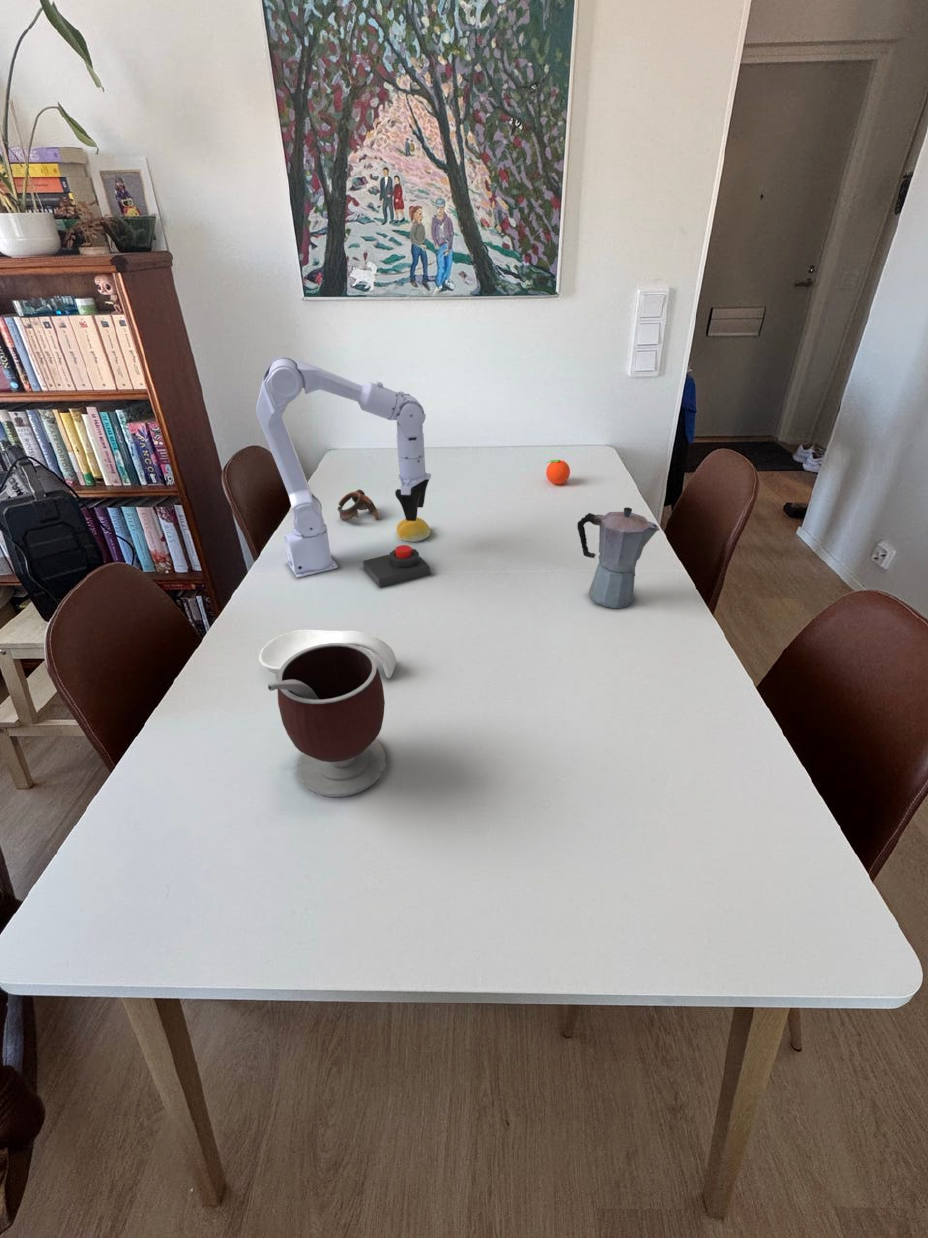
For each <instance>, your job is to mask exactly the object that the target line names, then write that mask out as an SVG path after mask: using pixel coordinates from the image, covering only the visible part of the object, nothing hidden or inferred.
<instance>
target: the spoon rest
mask: <svg viewBox="0 0 928 1238" xmlns="http://www.w3.org/2000/svg"><path fill="white" fill-rule="evenodd" d="M328 643H346V644H352V645H356V646H359V647H361V648H363V649H365V650H366V649H367V651H369V652H370V651H371V652H372V653H374V655H376V656H377V657H378V659H379V660H380V662H381V665H382V668H383V670H384V675H385V677H386V678H388V679H391V678H392V676H393V674H394V671H395V668H396V666H397V658H396V655H395V652H394V651H393V649H392V648H391V646H389V645H388V643H386V642H385V641H384V640H383V639H381V638H379V637H377V636H375V635H372V634H369V633H367V632H362V631H358V630H327V629H326V630H325V629H297V630H292V631H288V632H284V633H283V634H282V633H281V634H280V635H278V636H276V637H273V638H271V640H269V641H268V642H267V643H266V644H265V645H264V646H263V647H262V649H261V650H260V652H259V655H258V660H259V664H260V665H261V666H262V667H263V668H265V669H266V670H267V671H269V672H271V673H273V674H276V675H278V673H279V670H280V668H281V667H282V665H283V664H284V663H285V662H286V661H287V660H288V659H289V658H290V657H292V656H293V655H295V654H296V653H298V652H300V651H302V650H304V649H307V648H310V647H313V646H317V645H321V644H328Z"/></svg>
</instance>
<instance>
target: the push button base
mask: <svg viewBox="0 0 928 1238" xmlns="http://www.w3.org/2000/svg"><path fill="white" fill-rule="evenodd" d="M362 564H363V570H364V571H365V572H366V573H367V575H368V576H369V578H371V580H372V581H373V582H374V583H375V584H376V586H377V587H378V588H379V589H381V588H386V587H390V586H393V585H397V584H401V583H406V582H408V581H409V582H410V581H413V580H416V579H420V578H424V577H428V576H431V565H429V564H428V563H427V562H426V561H425V560H424V559H423V558H422V557H421V556H420V551H418V550H417V549H414V548H412V556H411V557H410V558H406V559H400V558H397V557H396V551H395V549H393V550H391V551H390V552H389V554H385V555H381V556H377V557H372V558H368V559H364V560H362Z"/></svg>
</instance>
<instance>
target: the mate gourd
mask: <svg viewBox="0 0 928 1238" xmlns="http://www.w3.org/2000/svg"><path fill="white" fill-rule="evenodd" d="M381 677H382V676H381V673H380V670H379V668H378V666H377V661H376V659H375V657H374V656H373V654H372V653H370V651H369V650H368V649H367V650H366V648H363V647H360V646H356V645H352V644H346V643H328V644H321V645H317V646H313V647H310V648H307V649H304V650H302V651H300V652H298V653H296V654H295V655H293V656H292V657H290V658H289V659H288V660H287V661H286V662H285V663H284V664H283V665H282V667H281V668H280V670H279V673H278V674H277V678H276V679H277V680H276V682H271V683H269V684H267V689H268V691H270V692H274V691H275V690H277V705H278V709H279V714H280V718H281V722H282V725H283V727H284V730H285V732H286V735H287V736H288V737H289V739H290V740H291V742H292V744H293V745H294V747H295V749H297V750H298V751H299V752H300V753H302V754H303V755H302V758H301V760H300V762H299V775H300V777H301V781H302V782H303V784H304V786H305V787H306V788H307V789H308V790H309V791H311V792H313V793H315V794H317V795H320V796H323V797H328V798H342V797H350V796H352V795H356V794H358V793H361V792H363V791H365V790H367V789H368V788H369V787H371V786H372V785H373V784H375V783H376V782H377V781H378V780H379V778H380V777H381V775H382V774H383V772H384V770H385V767H386V761H387V760H386V754H385V750H384V747H383V746H382V744H381V743H380V742H379V741H378V740H377V737H378V736H379V734H380V733H381V730H382V726H383V722H384V717H385V706H386V704H385V703H386V702H385V701H386V700H385V693H384V684H383V680H382V678H381Z"/></svg>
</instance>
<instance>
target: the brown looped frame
mask: <svg viewBox="0 0 928 1238" xmlns="http://www.w3.org/2000/svg"><path fill="white" fill-rule="evenodd" d="M350 500H352V501H353V503H354V504H353V505H351V506H350V507H348V508H346V509H343V508H344V506H345V505H346V503H347V502H349V501H350ZM358 510H359V511H367V510H368V514H373V516H374V517H375V520H376V521H378V520H379V512H378V509H377V507H376V505H375V504H374V502H373V500H372V499H371V498H370V497H369V496H367V495H366V494H365V491H363V489H357V490H356V491H351V492H348V493H347V494H346V495H344V496H343V497H342V498H341V499H340V500H339V502H338V506H337V511H338V512H339V519H341V520H342V521H344V520H346V521H347V520H350V519H352V518H360V516H359V511H358Z"/></svg>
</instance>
